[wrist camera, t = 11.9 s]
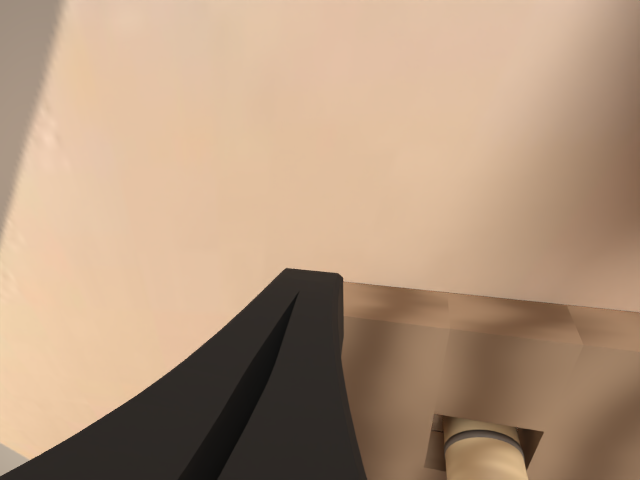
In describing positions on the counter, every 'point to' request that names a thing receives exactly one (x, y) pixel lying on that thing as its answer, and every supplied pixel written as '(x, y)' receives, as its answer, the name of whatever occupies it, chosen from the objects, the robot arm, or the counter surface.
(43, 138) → the counter surface
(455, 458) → the oak peg
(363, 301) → the hole board
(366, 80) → the counter surface
